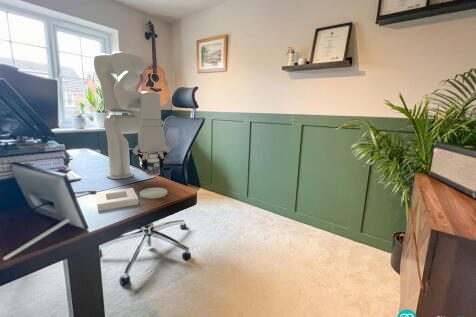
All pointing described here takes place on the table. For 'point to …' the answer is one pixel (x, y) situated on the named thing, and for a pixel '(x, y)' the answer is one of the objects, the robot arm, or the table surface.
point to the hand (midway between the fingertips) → (153, 167)
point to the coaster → (153, 193)
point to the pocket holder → (116, 199)
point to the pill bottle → (153, 164)
